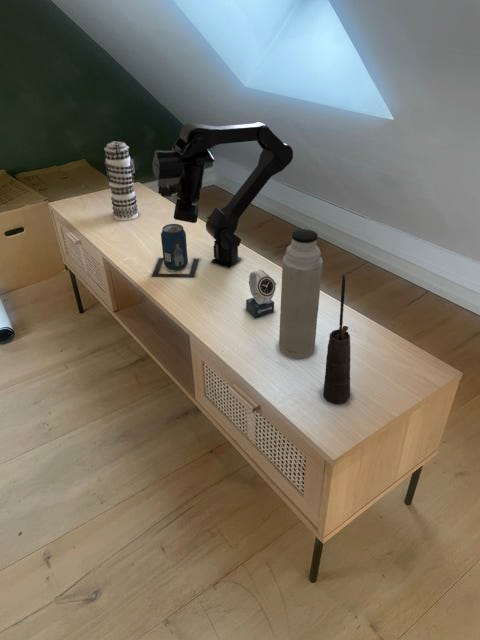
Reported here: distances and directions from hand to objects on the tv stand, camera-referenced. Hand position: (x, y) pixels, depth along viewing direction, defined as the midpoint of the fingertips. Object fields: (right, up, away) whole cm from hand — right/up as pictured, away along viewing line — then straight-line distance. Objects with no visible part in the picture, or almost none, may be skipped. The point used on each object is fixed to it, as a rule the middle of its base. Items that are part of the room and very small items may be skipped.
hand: (184, 217), depth 143 cm
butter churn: (+35, -44, -42) cm, 70 cm away
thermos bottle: (+29, -36, -30) cm, 55 cm away
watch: (+21, -27, -17) cm, 38 cm away
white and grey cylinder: (-25, +8, +34) cm, 43 cm away
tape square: (-3, -14, +2) cm, 14 cm away
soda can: (-3, -14, +3) cm, 14 cm away
